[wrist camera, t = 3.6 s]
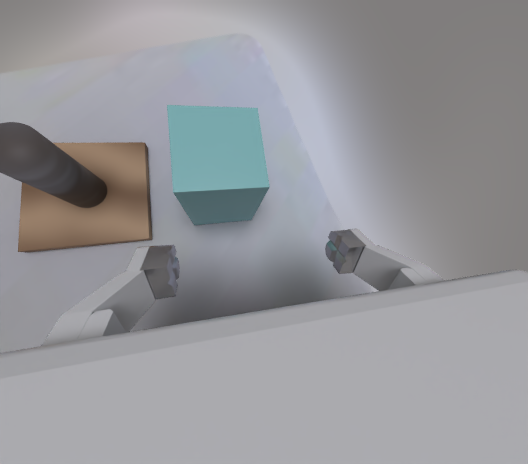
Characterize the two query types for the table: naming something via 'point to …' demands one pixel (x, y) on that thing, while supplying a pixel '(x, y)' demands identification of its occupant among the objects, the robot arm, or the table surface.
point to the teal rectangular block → (217, 162)
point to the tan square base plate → (76, 190)
